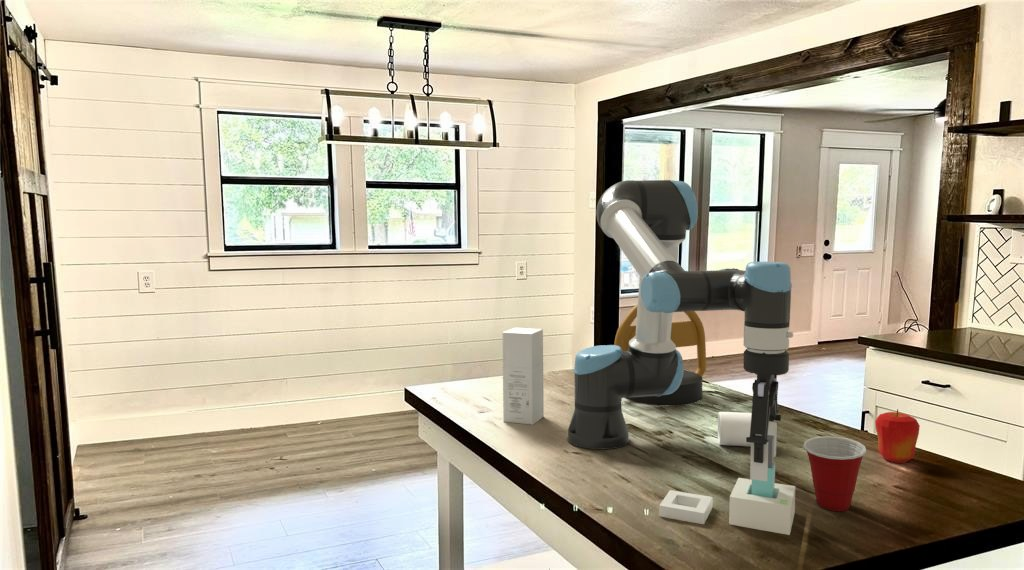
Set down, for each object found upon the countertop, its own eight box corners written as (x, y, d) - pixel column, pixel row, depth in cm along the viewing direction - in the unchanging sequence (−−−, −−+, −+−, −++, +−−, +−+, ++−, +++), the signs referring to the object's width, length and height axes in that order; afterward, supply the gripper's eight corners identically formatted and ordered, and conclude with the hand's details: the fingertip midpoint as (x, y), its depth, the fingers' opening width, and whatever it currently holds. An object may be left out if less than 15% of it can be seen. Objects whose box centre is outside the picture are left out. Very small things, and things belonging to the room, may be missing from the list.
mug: (763, 451, 163) (764, 418, 163) (720, 449, 165) (720, 416, 165) (756, 436, 175) (757, 405, 174) (715, 434, 177) (716, 403, 176)
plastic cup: (790, 503, 133) (791, 442, 132) (821, 490, 139) (823, 432, 138) (844, 522, 124) (846, 458, 123) (875, 508, 130) (877, 446, 129)
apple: (925, 462, 155) (928, 410, 154) (902, 468, 151) (904, 415, 150) (889, 451, 162) (891, 401, 161) (866, 456, 159) (868, 406, 158)
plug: (751, 514, 123) (752, 438, 122) (753, 507, 126) (755, 433, 125) (771, 518, 122) (773, 441, 121) (774, 510, 125) (775, 435, 124)
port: (729, 529, 122) (729, 494, 122) (737, 508, 131) (738, 476, 130) (789, 540, 118) (790, 504, 117) (794, 517, 127) (795, 484, 126)
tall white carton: (544, 416, 195) (543, 328, 192) (533, 425, 186) (532, 333, 184) (515, 413, 198) (514, 327, 196) (503, 421, 190) (501, 332, 187)
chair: (593, 392, 221) (593, 294, 218) (682, 381, 235) (683, 289, 232) (637, 411, 199) (638, 302, 196) (732, 397, 213) (734, 296, 210)
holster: (659, 521, 126) (659, 505, 125) (669, 505, 133) (670, 490, 133) (703, 529, 122) (704, 513, 122) (712, 512, 129) (712, 497, 129)
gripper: (781, 364, 109) (778, 495, 111) (795, 340, 131) (792, 449, 133) (732, 360, 112) (730, 487, 114) (753, 337, 134) (751, 443, 136)
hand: (763, 467), depth 123 cm, fingers open, 13 cm apart
